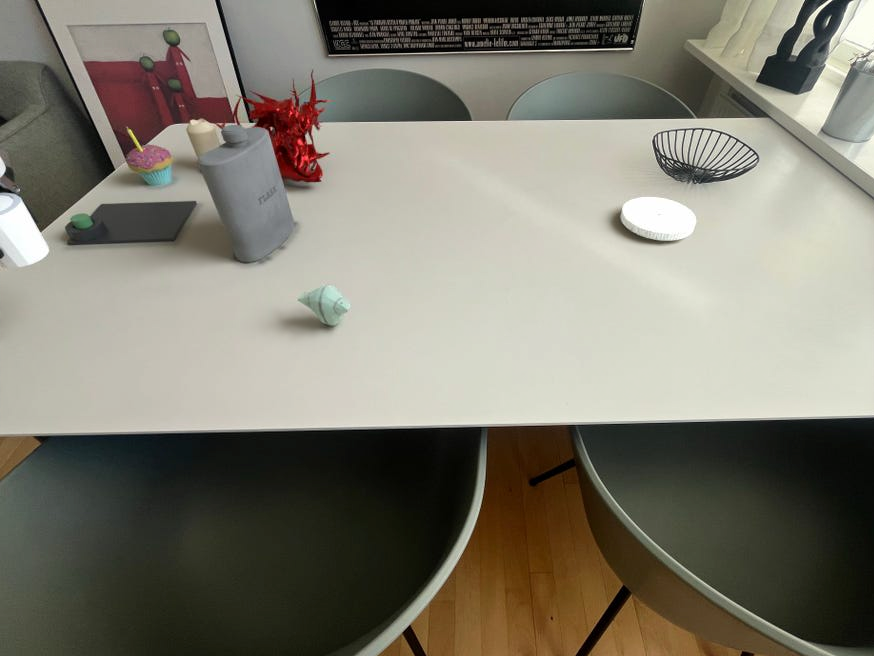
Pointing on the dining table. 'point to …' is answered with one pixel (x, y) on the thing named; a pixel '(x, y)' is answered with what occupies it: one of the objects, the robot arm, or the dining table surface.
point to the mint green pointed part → (326, 304)
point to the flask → (248, 192)
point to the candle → (202, 136)
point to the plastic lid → (658, 218)
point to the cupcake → (150, 162)
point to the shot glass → (19, 234)
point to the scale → (133, 223)
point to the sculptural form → (289, 133)
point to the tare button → (81, 221)
